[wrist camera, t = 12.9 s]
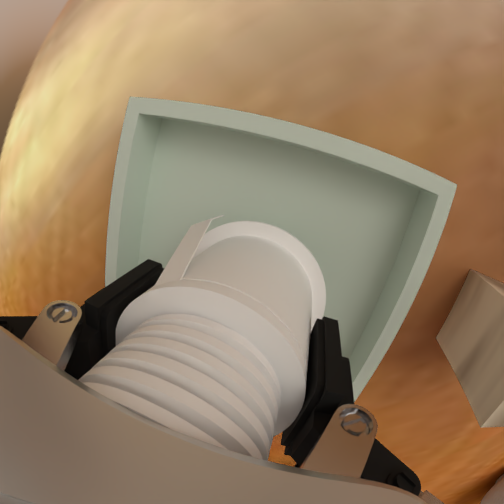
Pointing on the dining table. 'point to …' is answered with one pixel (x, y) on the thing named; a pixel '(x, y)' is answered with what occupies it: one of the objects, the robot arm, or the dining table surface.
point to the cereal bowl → (495, 493)
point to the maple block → (478, 346)
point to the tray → (281, 207)
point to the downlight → (220, 338)
